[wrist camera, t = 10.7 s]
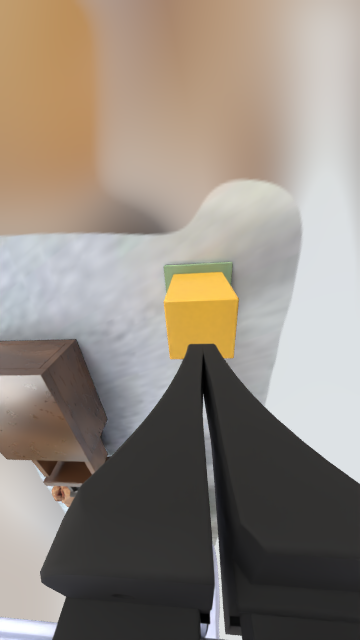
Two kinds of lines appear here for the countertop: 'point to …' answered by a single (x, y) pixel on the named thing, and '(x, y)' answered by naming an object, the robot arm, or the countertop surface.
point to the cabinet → (47, 402)
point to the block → (201, 313)
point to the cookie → (62, 495)
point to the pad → (197, 270)
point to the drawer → (72, 470)
